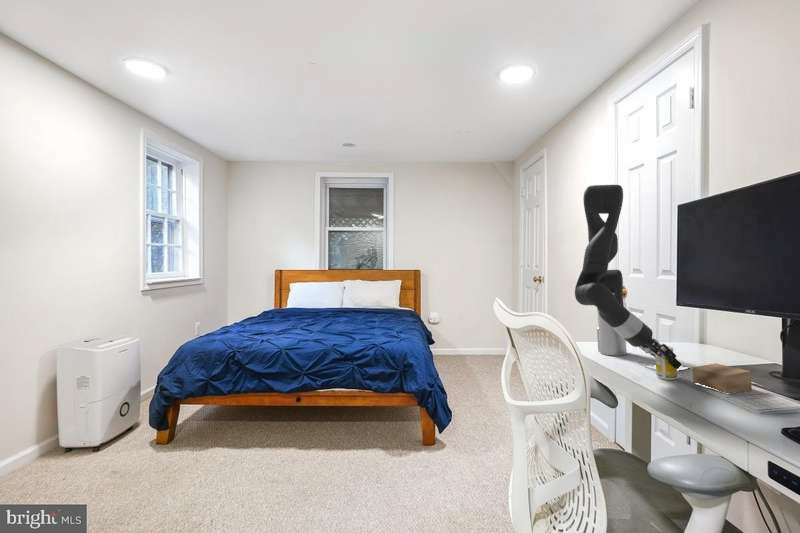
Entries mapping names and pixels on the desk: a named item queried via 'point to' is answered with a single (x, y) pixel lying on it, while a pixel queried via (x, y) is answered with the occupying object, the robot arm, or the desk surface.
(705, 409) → the desk surface
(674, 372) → the supplement bottle
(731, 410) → the desk surface
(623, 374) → the desk surface
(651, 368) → the page
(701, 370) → the walnut block
